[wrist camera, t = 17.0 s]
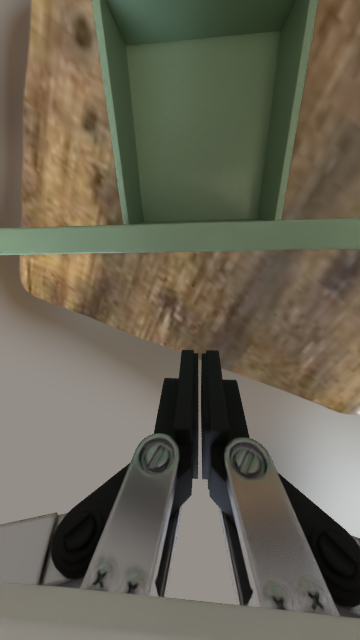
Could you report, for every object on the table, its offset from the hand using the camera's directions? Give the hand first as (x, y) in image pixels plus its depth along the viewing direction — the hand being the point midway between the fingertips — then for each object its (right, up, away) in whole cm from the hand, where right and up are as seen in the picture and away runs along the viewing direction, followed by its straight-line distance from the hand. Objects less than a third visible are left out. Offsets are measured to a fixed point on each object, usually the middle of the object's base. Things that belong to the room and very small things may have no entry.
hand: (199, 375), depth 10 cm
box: (+1, +22, +14) cm, 26 cm away
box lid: (0, +8, +3) cm, 9 cm away
